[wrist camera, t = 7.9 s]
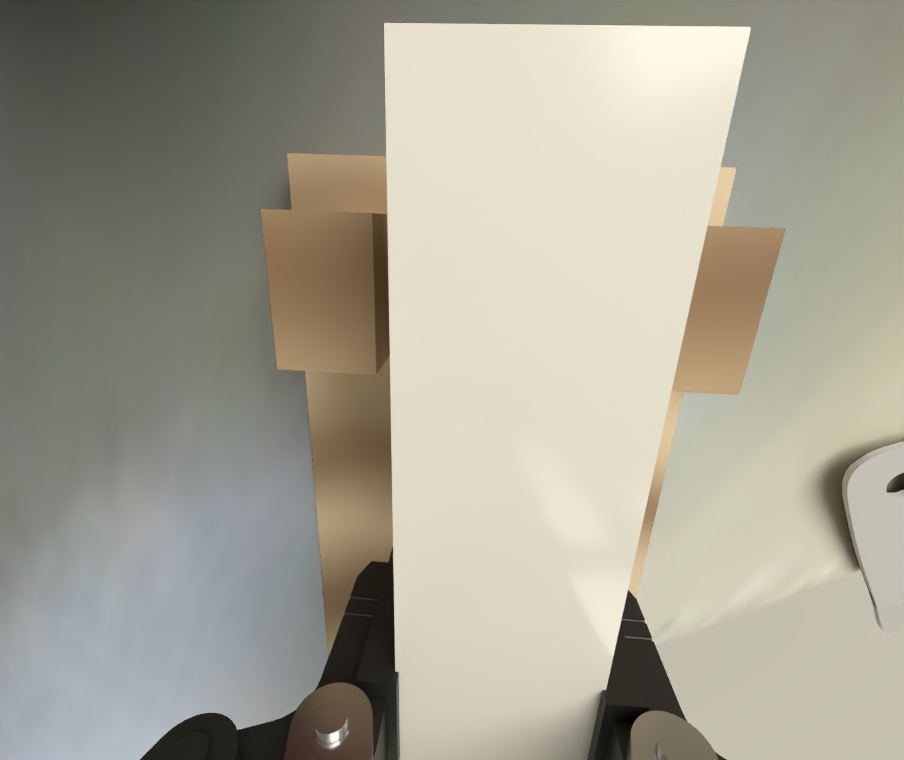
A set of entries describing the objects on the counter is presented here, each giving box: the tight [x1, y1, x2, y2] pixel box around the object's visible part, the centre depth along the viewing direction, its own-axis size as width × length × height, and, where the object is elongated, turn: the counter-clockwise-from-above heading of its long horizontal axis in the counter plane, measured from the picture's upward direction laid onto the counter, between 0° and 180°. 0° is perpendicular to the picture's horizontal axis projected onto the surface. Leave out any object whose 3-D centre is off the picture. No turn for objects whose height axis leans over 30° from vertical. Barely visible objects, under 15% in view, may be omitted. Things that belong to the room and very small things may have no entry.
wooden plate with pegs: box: [260, 153, 785, 656], centre depth 13 cm, size 20×12×6 cm, turn 178°
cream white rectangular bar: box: [384, 23, 751, 760], centre depth 10 cm, size 20×4×4 cm, turn 178°
